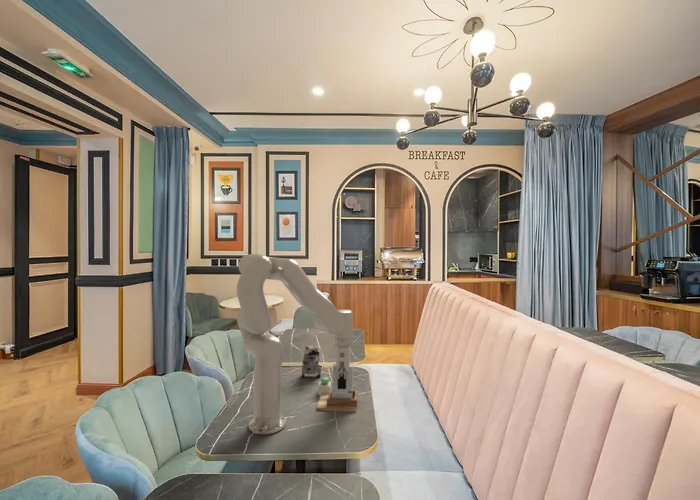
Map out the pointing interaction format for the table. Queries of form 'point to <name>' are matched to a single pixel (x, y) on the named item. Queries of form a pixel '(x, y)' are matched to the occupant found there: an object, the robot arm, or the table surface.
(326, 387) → the console
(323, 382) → the button
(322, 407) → the wooden display tray
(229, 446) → the table surface
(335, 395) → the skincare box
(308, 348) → the figurine
